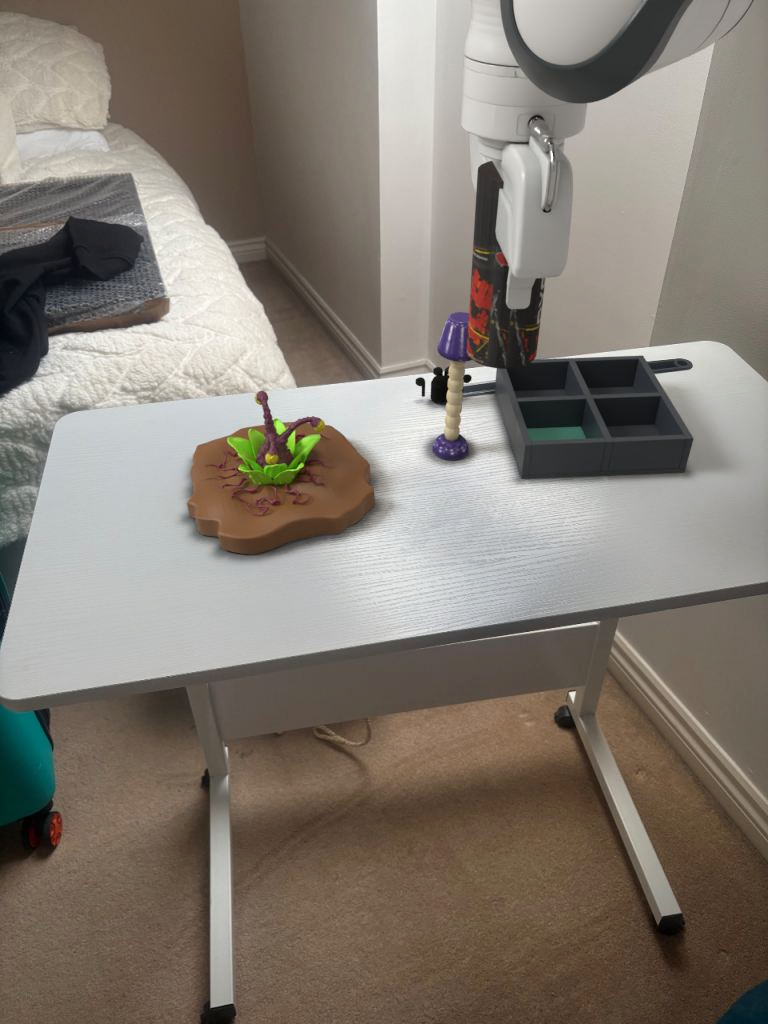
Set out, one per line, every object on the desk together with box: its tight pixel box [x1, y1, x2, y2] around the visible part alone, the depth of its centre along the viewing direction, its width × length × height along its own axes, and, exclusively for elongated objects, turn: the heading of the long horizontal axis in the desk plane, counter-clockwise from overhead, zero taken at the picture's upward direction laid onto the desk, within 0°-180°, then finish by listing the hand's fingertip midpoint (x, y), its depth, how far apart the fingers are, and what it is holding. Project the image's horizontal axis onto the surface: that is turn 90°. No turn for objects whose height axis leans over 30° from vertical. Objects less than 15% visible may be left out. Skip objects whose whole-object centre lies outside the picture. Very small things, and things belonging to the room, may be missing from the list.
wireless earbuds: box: [415, 365, 473, 404], centre depth 102 cm, size 7×2×5 cm, turn 96°
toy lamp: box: [431, 311, 473, 461], centre depth 91 cm, size 5×5×17 cm
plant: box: [186, 390, 376, 555], centre depth 87 cm, size 20×20×11 cm
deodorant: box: [467, 161, 547, 369], centre depth 66 cm, size 6×6×15 cm
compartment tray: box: [494, 355, 694, 480], centre depth 98 cm, size 18×18×5 cm
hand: (507, 285), depth 67 cm, fingers closed on deodorant, 6 cm apart
